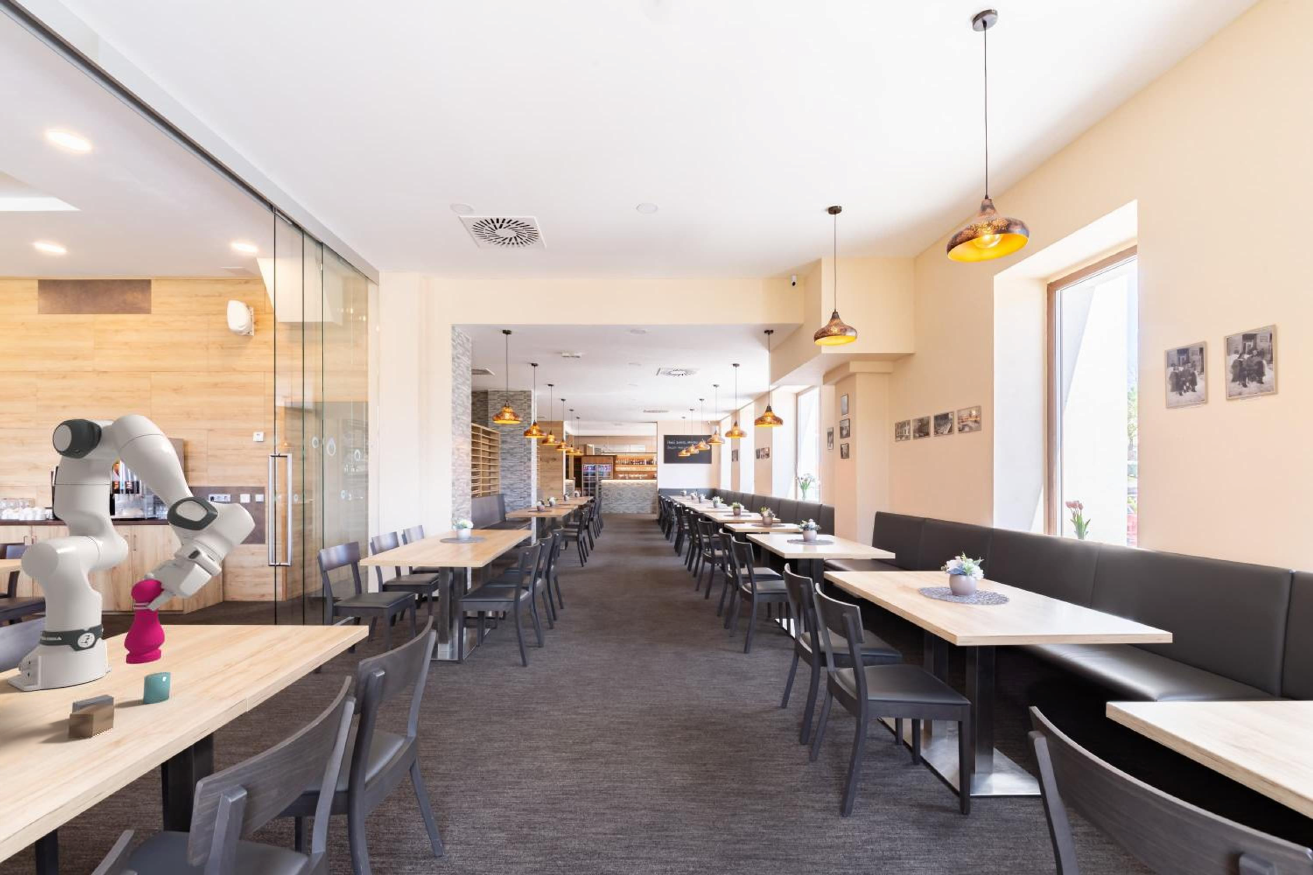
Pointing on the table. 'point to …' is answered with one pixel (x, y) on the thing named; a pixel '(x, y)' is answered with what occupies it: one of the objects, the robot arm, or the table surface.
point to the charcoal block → (92, 702)
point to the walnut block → (91, 721)
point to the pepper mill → (145, 624)
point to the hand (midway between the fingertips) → (143, 607)
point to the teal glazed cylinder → (156, 687)
